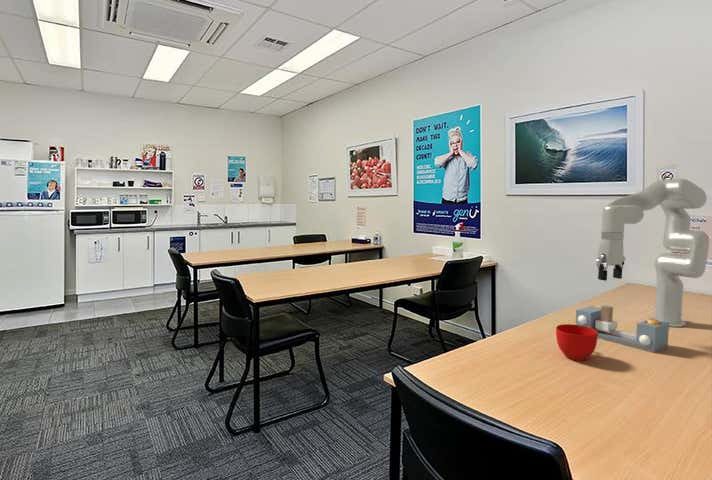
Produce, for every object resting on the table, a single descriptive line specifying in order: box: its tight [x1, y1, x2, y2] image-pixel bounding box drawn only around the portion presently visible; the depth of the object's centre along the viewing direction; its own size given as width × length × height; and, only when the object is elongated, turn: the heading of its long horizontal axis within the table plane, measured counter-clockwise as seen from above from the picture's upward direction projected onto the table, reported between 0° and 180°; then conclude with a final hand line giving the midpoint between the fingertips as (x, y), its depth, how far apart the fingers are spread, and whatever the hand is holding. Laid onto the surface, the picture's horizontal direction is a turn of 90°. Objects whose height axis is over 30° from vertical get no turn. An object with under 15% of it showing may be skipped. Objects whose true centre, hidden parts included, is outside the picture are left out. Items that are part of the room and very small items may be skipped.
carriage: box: [595, 304, 618, 333], centre depth 165 cm, size 7×5×10 cm
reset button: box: [647, 318, 659, 325], centre depth 151 cm, size 4×4×3 cm
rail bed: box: [575, 305, 670, 354], centre depth 161 cm, size 12×29×10 cm, turn 32°
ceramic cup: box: [555, 323, 599, 362], centre depth 145 cm, size 13×17×10 cm
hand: (609, 279), depth 162 cm, fingers open, 9 cm apart
